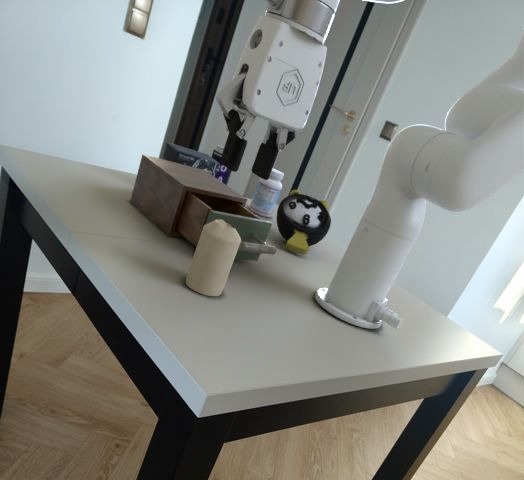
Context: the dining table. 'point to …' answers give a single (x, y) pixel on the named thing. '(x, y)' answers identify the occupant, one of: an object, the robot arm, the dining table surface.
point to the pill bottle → (267, 194)
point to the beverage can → (222, 171)
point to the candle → (213, 258)
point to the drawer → (244, 221)
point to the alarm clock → (302, 221)
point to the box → (190, 158)
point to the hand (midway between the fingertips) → (244, 170)
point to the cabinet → (173, 190)
